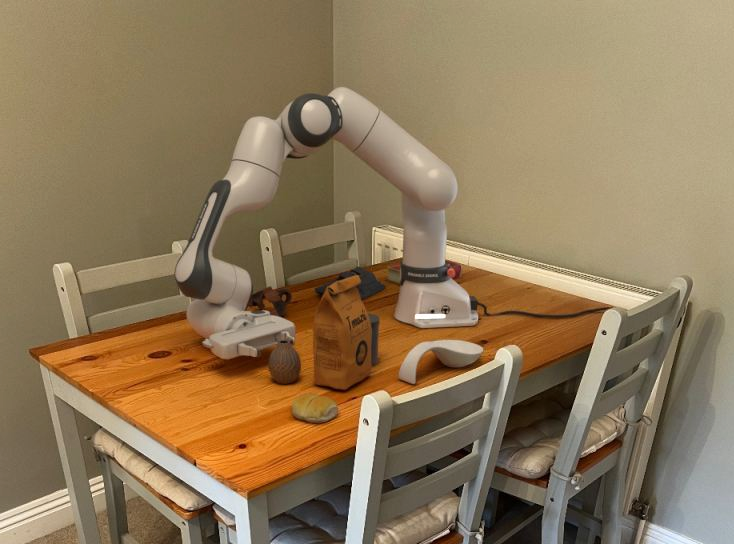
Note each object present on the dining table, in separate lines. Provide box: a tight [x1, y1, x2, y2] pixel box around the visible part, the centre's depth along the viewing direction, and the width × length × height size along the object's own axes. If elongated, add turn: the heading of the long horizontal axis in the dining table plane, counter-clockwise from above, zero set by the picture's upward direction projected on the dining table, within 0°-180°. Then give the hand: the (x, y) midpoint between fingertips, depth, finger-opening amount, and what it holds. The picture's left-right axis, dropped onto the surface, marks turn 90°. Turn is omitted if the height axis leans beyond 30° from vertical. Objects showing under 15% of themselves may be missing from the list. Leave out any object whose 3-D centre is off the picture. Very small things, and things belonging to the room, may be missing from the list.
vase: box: [268, 340, 302, 385], centre depth 159 cm, size 7×7×9 cm
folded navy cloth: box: [314, 266, 386, 301], centre depth 217 cm, size 15×22×5 cm
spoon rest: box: [397, 339, 484, 385], centre depth 166 cm, size 24×12×7 cm, turn 137°
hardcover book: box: [385, 259, 463, 286], centre depth 229 cm, size 12×21×4 cm, turn 130°
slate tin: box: [367, 312, 381, 367], centre depth 169 cm, size 7×7×10 cm
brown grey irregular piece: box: [248, 285, 293, 318], centre depth 198 cm, size 12×10×8 cm
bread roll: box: [291, 392, 339, 424], centre depth 146 cm, size 8×9×4 cm
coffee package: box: [312, 275, 373, 391], centre depth 156 cm, size 10×12×22 cm
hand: (275, 347), depth 160 cm, fingers open, 8 cm apart
